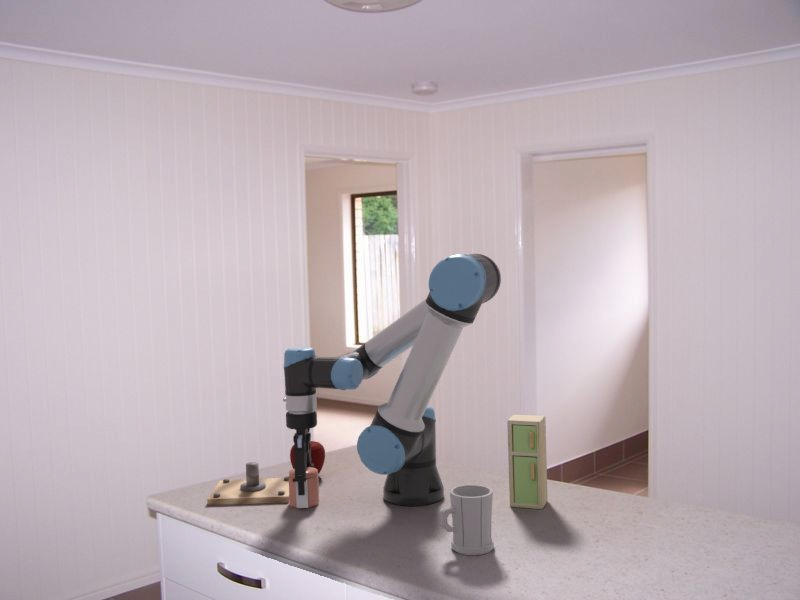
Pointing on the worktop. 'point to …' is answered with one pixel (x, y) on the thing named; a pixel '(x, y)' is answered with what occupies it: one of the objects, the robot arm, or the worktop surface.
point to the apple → (312, 455)
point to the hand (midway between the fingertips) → (304, 500)
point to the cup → (469, 519)
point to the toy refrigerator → (527, 461)
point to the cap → (311, 484)
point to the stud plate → (250, 489)
